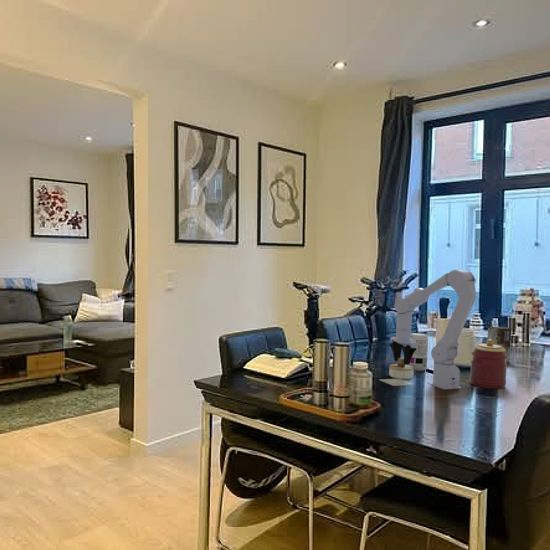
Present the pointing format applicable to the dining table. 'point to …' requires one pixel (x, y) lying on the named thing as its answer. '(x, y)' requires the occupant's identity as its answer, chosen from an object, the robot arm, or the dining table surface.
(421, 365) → the supplement can
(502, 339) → the coffee box
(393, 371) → the bowl
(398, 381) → the mat
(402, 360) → the lid
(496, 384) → the canister
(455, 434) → the dining table surface
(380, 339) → the dining table surface
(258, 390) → the dining table surface
